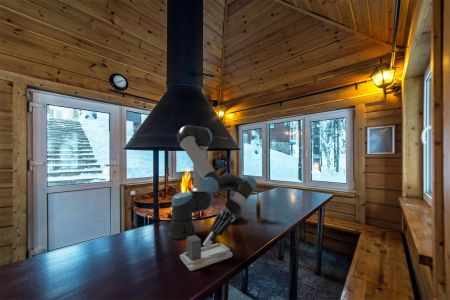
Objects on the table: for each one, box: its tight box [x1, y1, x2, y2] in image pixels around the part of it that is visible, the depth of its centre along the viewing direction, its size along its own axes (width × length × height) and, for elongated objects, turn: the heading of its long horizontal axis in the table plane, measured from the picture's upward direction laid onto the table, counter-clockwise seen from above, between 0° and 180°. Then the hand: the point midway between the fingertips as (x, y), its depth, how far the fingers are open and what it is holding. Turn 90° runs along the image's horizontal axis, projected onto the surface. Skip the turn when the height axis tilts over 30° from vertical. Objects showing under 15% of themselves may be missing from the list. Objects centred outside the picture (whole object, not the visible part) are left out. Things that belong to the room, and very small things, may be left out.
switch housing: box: [179, 242, 233, 272], centre depth 87 cm, size 20×12×2 cm, turn 122°
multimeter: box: [255, 191, 270, 225], centre depth 136 cm, size 15×10×20 cm
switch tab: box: [186, 234, 202, 261], centre depth 84 cm, size 4×6×8 cm, turn 32°
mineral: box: [223, 207, 243, 221], centre depth 140 cm, size 18×16×10 cm
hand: (205, 246), depth 87 cm, fingers closed
